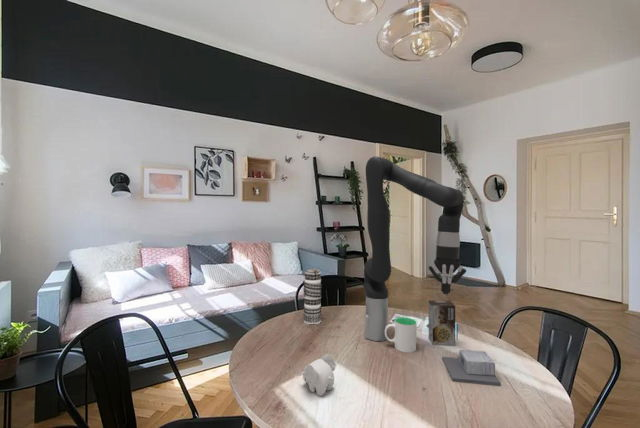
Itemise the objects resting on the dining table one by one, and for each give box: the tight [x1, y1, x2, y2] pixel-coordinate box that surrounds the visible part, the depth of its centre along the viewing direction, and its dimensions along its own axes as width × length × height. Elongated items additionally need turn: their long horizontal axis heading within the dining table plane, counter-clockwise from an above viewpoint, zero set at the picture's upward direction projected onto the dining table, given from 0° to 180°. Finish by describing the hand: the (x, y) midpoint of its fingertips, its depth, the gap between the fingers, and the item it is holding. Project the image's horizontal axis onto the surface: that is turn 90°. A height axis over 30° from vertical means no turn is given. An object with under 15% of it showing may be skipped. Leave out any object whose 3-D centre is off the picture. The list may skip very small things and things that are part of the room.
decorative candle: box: [302, 267, 323, 325], centre depth 144 cm, size 9×9×25 cm
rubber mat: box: [441, 356, 502, 387], centre depth 100 cm, size 14×14×1 cm
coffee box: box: [427, 300, 456, 346], centre depth 123 cm, size 9×6×16 cm
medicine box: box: [458, 349, 496, 376], centre depth 100 cm, size 8×4×9 cm
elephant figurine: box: [298, 353, 337, 397], centre depth 91 cm, size 10×12×9 cm
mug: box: [385, 316, 417, 353], centre depth 118 cm, size 12×8×10 cm, turn 86°
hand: (445, 293), depth 106 cm, fingers closed
